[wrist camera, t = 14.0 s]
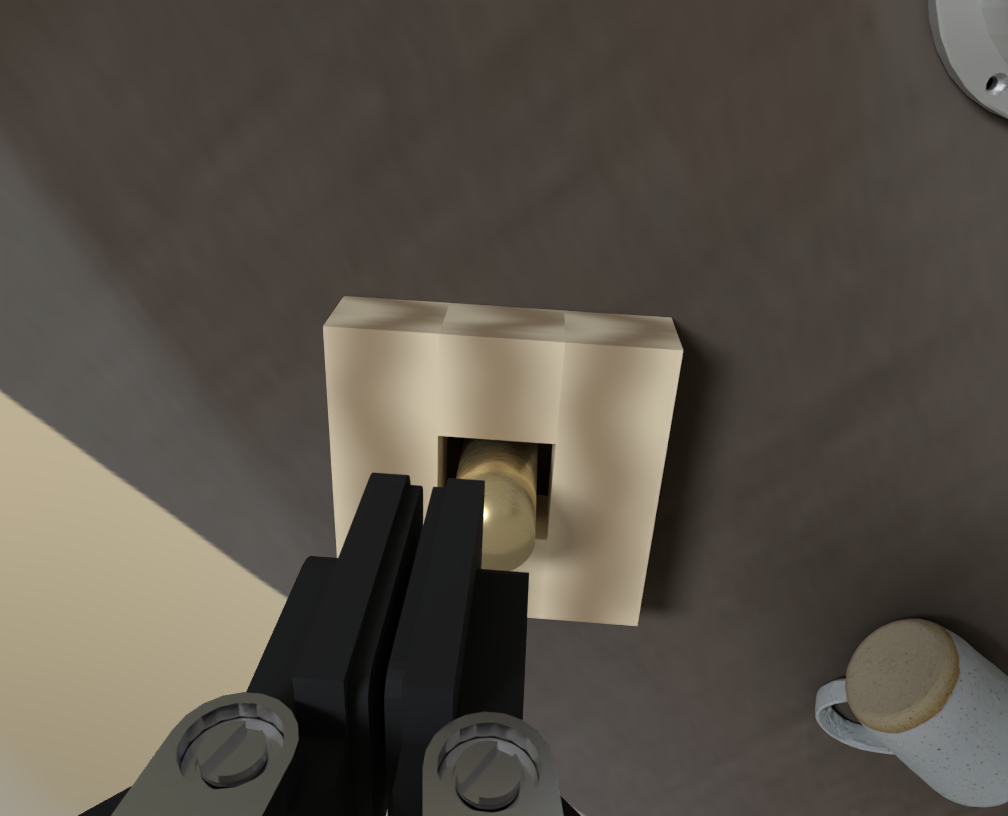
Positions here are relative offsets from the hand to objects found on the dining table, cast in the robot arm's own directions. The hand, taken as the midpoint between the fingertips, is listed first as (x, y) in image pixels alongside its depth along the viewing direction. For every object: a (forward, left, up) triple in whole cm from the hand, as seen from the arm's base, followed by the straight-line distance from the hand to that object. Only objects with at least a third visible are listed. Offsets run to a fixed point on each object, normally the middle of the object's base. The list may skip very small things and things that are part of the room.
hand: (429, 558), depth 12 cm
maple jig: (0, +14, -27) cm, 31 cm away
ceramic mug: (-25, +28, -27) cm, 46 cm away
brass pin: (0, +14, -27) cm, 31 cm away
